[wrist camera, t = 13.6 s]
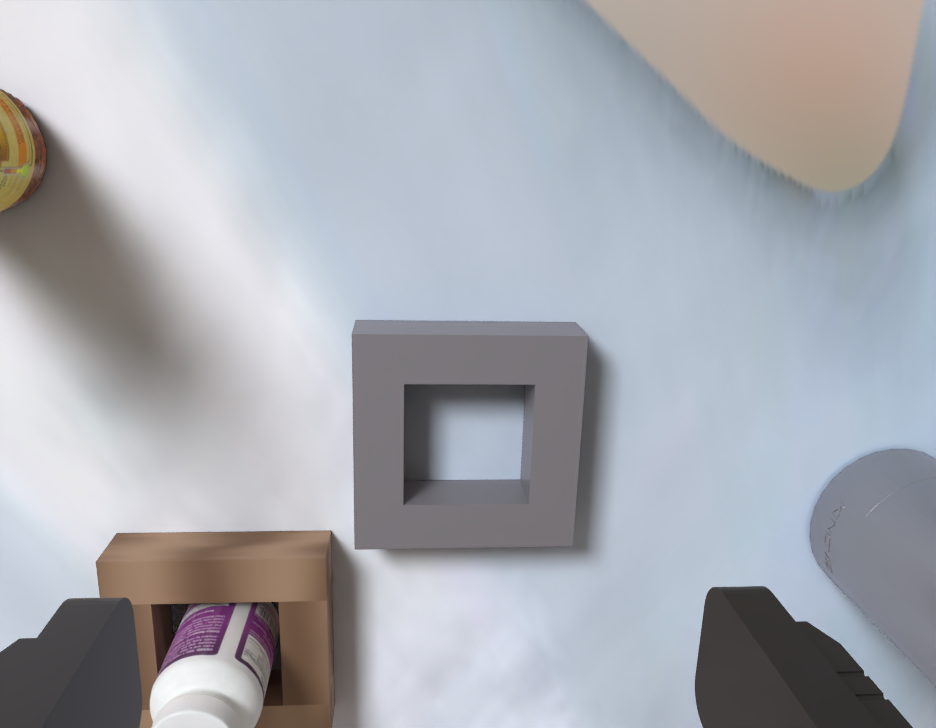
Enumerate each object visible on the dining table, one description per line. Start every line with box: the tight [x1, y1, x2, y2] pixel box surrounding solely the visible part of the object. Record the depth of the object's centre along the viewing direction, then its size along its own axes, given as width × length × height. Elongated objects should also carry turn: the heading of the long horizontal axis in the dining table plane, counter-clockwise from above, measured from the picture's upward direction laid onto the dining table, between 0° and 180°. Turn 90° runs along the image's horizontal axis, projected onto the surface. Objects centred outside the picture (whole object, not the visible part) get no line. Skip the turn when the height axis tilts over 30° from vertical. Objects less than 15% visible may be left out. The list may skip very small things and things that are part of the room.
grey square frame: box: [352, 320, 588, 549], centre depth 41 cm, size 12×12×3 cm
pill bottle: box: [150, 602, 280, 728], centre depth 40 cm, size 5×5×10 cm
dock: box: [96, 531, 335, 728], centre depth 43 cm, size 12×12×3 cm
